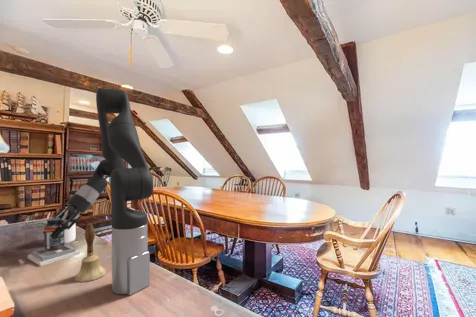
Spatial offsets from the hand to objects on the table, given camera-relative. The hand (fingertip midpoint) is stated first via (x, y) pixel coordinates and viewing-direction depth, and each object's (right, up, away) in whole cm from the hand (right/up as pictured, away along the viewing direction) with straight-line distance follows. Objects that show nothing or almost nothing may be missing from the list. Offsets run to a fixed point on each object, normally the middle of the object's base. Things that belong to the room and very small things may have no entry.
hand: (48, 236), depth 87 cm
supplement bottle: (+1, -5, +2) cm, 6 cm away
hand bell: (+24, -8, -13) cm, 28 cm away
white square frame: (+1, -8, +1) cm, 8 cm away
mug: (-8, -8, +18) cm, 22 cm away
